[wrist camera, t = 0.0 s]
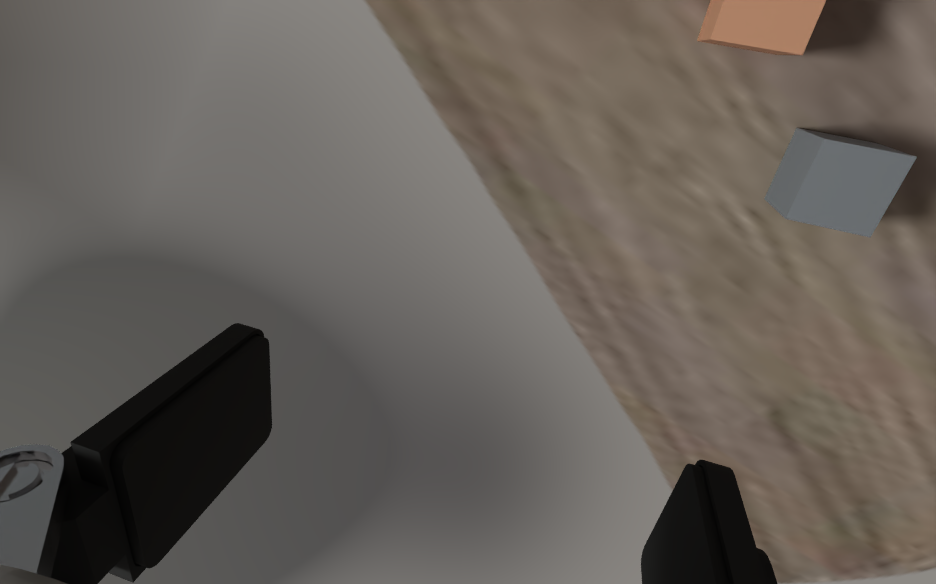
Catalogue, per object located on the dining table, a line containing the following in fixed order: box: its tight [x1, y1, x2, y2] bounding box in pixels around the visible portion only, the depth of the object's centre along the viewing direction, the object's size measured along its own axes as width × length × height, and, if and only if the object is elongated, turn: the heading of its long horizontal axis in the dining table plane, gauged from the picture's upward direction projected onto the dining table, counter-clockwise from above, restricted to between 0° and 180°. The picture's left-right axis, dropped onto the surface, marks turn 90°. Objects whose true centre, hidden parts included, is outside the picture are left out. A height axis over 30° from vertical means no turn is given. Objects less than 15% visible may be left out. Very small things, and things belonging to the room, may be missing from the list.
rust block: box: [697, 0, 826, 55], centre depth 29 cm, size 5×5×5 cm
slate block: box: [764, 128, 917, 237], centre depth 32 cm, size 5×5×5 cm
